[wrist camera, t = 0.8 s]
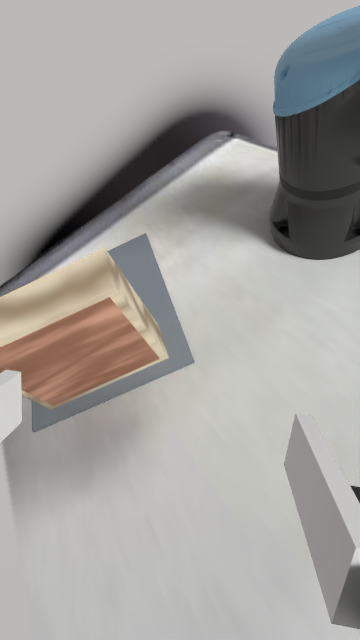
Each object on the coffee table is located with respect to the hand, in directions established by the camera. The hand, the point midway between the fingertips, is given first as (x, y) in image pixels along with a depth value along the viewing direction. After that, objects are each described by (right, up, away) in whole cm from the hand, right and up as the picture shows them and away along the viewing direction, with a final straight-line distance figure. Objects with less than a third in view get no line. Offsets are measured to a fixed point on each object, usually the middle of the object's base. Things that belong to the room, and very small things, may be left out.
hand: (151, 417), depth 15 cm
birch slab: (-9, -2, +31) cm, 32 cm away
